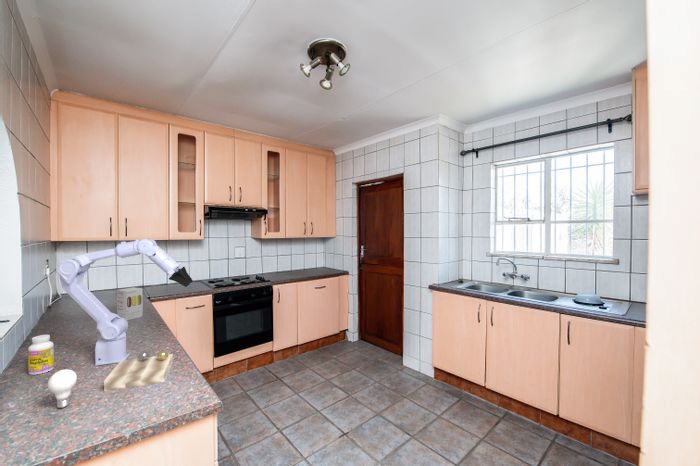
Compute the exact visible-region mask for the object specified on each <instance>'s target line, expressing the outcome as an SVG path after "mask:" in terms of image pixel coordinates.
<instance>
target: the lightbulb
mask: <svg viewBox="0 0 700 466" xmlns="http://www.w3.org/2000/svg"><path fill="white" fill-rule="evenodd" d="M77 379H78V375H77V372H76V371H74V370H72V369H70V368H69V369H67V368H65V369H60V370H57V371H56V372H54V373H53V374H52V375H51V376H50V377H49V379H48V381H47V388H48V390H49V391H50V392H51V393H53V395H54V397H55V399H56V405H57V406H56V407H57V408H58V409H59V408H61V409H63V408H65V407H67V406H69V404H70V395H71V394H72V390H73V388H74V387H75V385H76V383H77V381H78V380H77Z"/></svg>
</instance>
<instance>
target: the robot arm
mask: <svg viewBox="0 0 700 466" xmlns="http://www.w3.org/2000/svg"><path fill="white" fill-rule="evenodd" d="M142 254H143V255H145V256H146V257H147V258H148V259H149V260H150V261H152V262H153V263H154V264H155V265H156V266H157V267H159V268H160V269H161V270H162V271H163V272H164V273H166V275H167V276H169V278H168V280H169V281H174V282H175V283H178V284H179V285H181V286H183V287H185V288H187V287H189V285H190V284H191V283H192V282H193V281H194V280H193V279H192V277H191V276H190V274H189V273H188V271H187V269H186V267H185V266H182V267H180V266H181V265H182V262H181V261H180V262H179V263H178V262H177V261H176V260H175V259H173V258H172V257H171V256H170V255H169V254H168V253H167V252H166V251H165V250H163V248H161V247H160V246H159V245H158V244H157V242H156V240H154V239H152V238H141V239H139V238H136V239H135V240H133V241H129V242H127V241H121V242H120V243H118V244H117V245H116V246H115V247H114V248H110V249H109V248H108V249H103V250H98V251H97V250H96V251H92V252H86V253H84V254H79V255H76V256H73V257H72V258H67V259H64V260H62V261H60V262H59V264H58V265H57V269H56V272H55V273H57V275H58V276H59V280H60V281H59V282H60V284H61V288H62V290H63V291H65V292H66V294H67V295H68V296H70V297H71V298H72V299H73V301H75V302H76V303H77V305H79V307H81V308H82V309H83V310H84V311H85V312H86V313H87V315H89V316H90V317H91V318H92V319H93V320H94V321H95V322H96V329H97V330H98V331H99V333H100V337H101V338H99V339H98V340H97V341H96V343H95V347H94V348H95V349H94V353H95V355H94V356H95V359H94V360H95V364H94V366H101V365H102V366H103V365H110V364H118V363H119V362H120V361H121V360H128V358H129V356H130V355H131V353H130V352H127V333H126V331H127V330H128V328H129V323H128V320H125V319H124V318H121V317H119V316H118V315H117V313H114V312H111V311H110V310H109V309H108V308H107V307H106V306H105V305H104V304H103V303H102V302H101V301H100V300H99V298H98V297H96V296H95V295H94V293H92V291H90V290H89V289H88V288H87V286H85V285H84V284H83V280H84V277H85V275H86V274H87V272H88V271H89V269H90V268H91V265H94V264H95V263H96V261H100V260H104V259H108V258H112V257H118V258H121V259H124V258H129V257H134V256H138V255H142Z"/></svg>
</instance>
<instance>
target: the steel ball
mask: <svg viewBox="0 0 700 466" xmlns="http://www.w3.org/2000/svg"><path fill="white" fill-rule="evenodd" d="M149 357H150V352H149V351H148V350H143V351H140V352H139V354H138V355H137V358H138V359H139V360H140V361H145V360H147V359H148V358H149Z"/></svg>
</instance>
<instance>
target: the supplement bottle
mask: <svg viewBox="0 0 700 466" xmlns="http://www.w3.org/2000/svg"><path fill="white" fill-rule="evenodd" d="M50 340H51V336H50V334H40V335H37V336H33V337H32V338H31V342H32V344H31V345H29V346H28V349H27V353H28V356H27V360H28V361H27V362H28V364H27V365H28V366H27V367H28V369H27V370H28V374H29V375H31V376H35V375H36V376H37V374H38V375H41V374H42V373H43V374H46V373H48V371H49V372H50V371H53V369H54V368H55V354H54V353H55V346H54V342H53V341H50ZM43 374H42V375H43Z"/></svg>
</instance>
